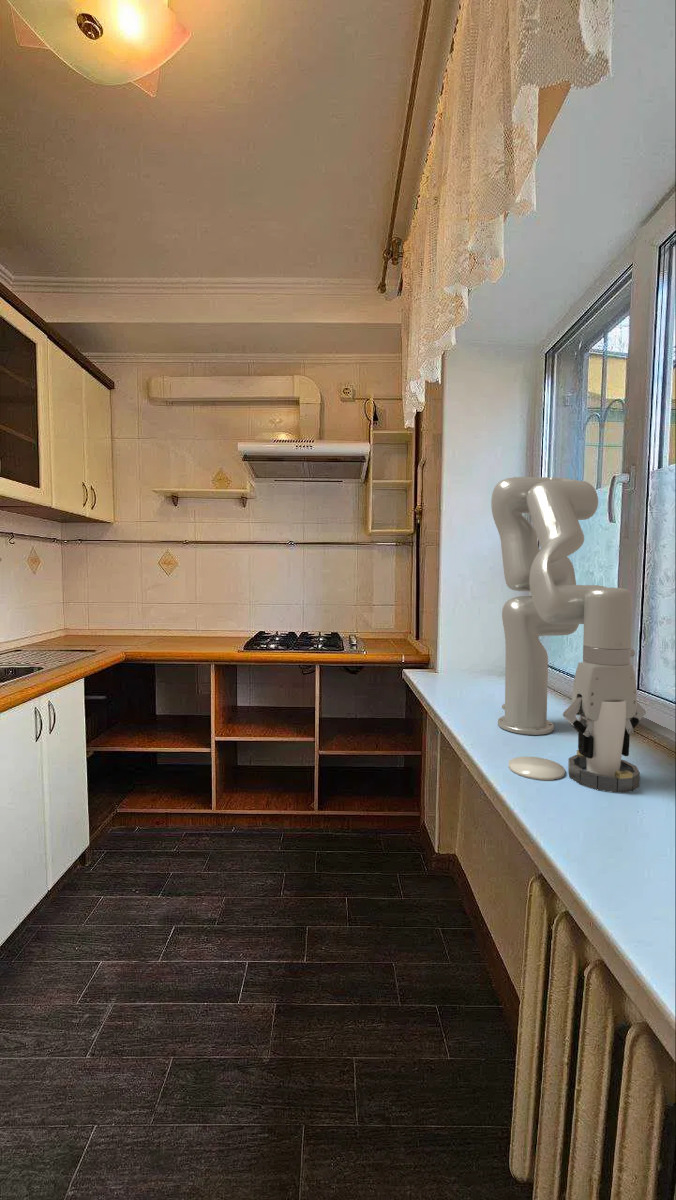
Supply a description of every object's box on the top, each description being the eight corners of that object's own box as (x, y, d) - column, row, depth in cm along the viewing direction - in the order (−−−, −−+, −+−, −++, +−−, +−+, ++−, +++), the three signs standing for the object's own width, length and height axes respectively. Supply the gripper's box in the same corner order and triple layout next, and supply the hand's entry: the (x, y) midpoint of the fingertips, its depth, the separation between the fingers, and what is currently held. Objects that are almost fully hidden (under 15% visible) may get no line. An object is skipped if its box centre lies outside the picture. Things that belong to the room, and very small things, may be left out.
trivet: (499, 761, 100) (499, 758, 100) (545, 758, 102) (545, 755, 102) (525, 782, 90) (526, 779, 90) (576, 778, 92) (576, 775, 92)
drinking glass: (573, 775, 93) (575, 695, 92) (597, 768, 96) (599, 691, 95) (608, 789, 87) (611, 704, 86) (632, 781, 90) (634, 699, 89)
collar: (555, 768, 97) (555, 751, 96) (608, 764, 98) (608, 747, 98) (596, 795, 85) (596, 776, 85) (654, 790, 87) (655, 771, 87)
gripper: (634, 651, 95) (631, 744, 96) (549, 654, 93) (547, 750, 94) (665, 658, 88) (662, 759, 89) (574, 661, 85) (572, 765, 86)
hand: (603, 753), depth 91 cm, fingers closed on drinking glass, 6 cm apart
